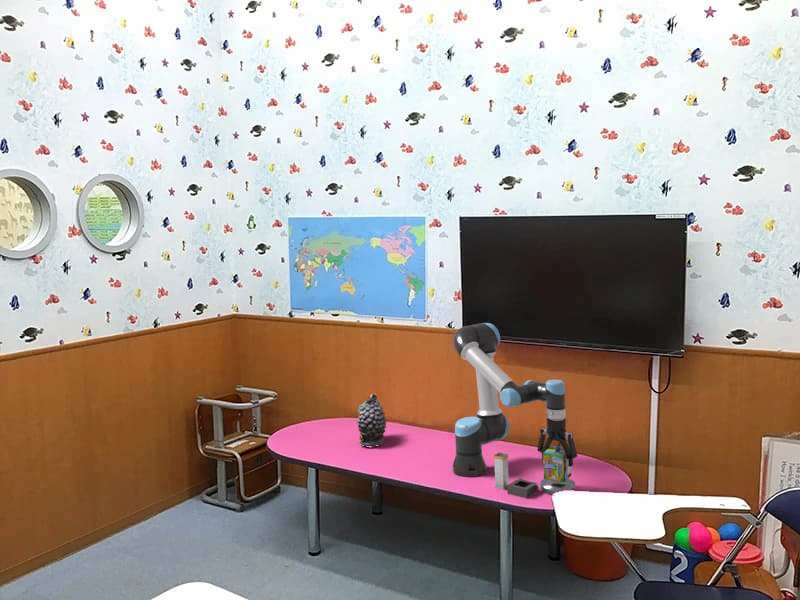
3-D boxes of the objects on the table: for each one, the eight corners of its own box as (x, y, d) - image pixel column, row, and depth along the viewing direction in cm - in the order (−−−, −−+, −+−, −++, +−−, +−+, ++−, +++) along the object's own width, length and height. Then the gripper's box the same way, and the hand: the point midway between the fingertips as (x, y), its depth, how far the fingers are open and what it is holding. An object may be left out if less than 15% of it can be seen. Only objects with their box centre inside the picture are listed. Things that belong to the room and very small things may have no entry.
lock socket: (507, 493, 284) (507, 485, 284) (519, 486, 291) (518, 478, 290) (526, 498, 278) (526, 490, 278) (537, 491, 285) (537, 482, 285)
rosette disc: (534, 490, 286) (534, 484, 285) (550, 480, 296) (550, 474, 296) (565, 498, 276) (565, 492, 276) (581, 487, 287) (581, 481, 287)
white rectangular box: (494, 487, 291) (493, 455, 289) (500, 484, 294) (499, 452, 292) (503, 489, 288) (502, 457, 286) (509, 486, 291) (508, 454, 290)
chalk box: (550, 471, 292) (550, 437, 290) (572, 475, 287) (571, 440, 285) (542, 479, 284) (541, 444, 283) (564, 482, 279) (563, 447, 278)
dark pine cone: (359, 437, 367) (357, 390, 364) (388, 436, 367) (385, 389, 364) (355, 450, 347) (353, 401, 344) (385, 449, 346) (383, 400, 343)
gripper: (527, 416, 287) (529, 468, 290) (577, 424, 273) (578, 479, 275) (536, 412, 293) (538, 463, 295) (585, 419, 278) (586, 473, 281)
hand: (557, 471), depth 285 cm, fingers closed on chalk box, 9 cm apart
